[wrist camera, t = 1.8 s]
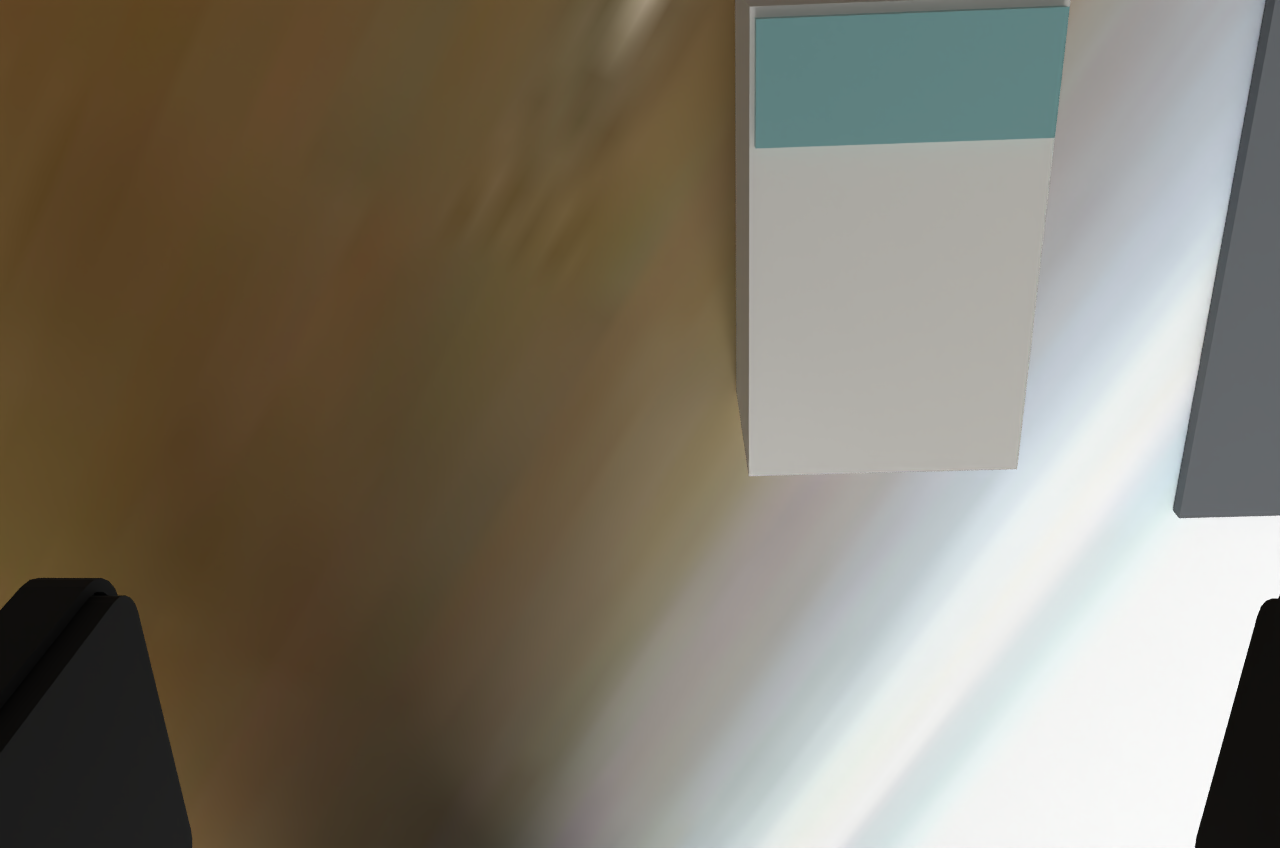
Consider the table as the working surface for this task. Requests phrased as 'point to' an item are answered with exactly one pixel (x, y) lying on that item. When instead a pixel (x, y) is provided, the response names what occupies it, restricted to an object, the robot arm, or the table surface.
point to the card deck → (890, 228)
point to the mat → (1243, 325)
